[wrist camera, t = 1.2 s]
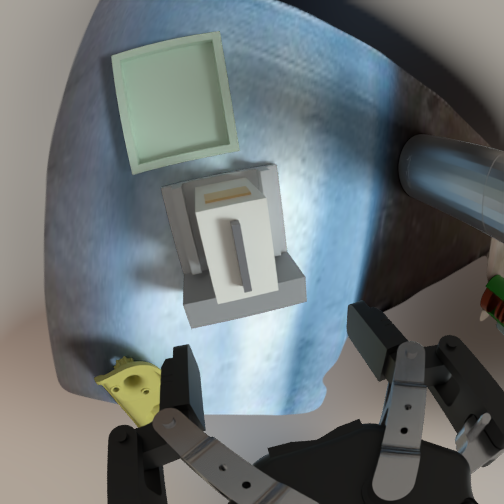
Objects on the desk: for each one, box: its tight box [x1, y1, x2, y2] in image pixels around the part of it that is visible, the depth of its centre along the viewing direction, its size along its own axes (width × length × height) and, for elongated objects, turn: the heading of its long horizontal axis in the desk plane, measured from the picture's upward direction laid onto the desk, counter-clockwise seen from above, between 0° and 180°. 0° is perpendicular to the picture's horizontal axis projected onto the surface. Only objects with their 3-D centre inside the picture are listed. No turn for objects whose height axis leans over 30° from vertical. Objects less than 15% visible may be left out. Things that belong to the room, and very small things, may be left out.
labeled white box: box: [195, 177, 279, 304], centre depth 26 cm, size 5×8×10 cm, turn 8°
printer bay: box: [161, 164, 307, 329], centre depth 29 cm, size 12×13×7 cm
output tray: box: [111, 31, 240, 175], centre depth 24 cm, size 11×13×2 cm
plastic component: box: [94, 356, 161, 428], centre depth 38 cm, size 20×7×10 cm
